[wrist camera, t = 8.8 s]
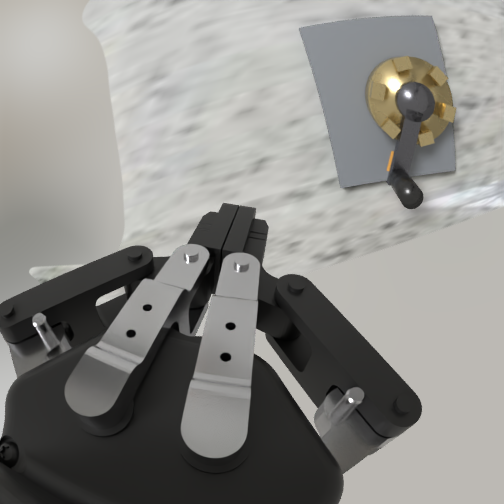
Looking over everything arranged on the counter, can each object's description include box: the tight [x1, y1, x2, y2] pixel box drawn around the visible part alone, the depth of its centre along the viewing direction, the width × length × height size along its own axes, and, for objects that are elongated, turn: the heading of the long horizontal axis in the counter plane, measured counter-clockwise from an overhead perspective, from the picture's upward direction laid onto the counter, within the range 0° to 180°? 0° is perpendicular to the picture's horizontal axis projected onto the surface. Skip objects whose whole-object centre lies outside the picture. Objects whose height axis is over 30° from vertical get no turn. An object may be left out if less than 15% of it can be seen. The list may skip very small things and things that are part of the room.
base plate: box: [299, 16, 456, 188], centre depth 29 cm, size 16×20×2 cm
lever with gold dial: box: [365, 56, 456, 209], centre depth 26 cm, size 15×10×8 cm, turn 175°
